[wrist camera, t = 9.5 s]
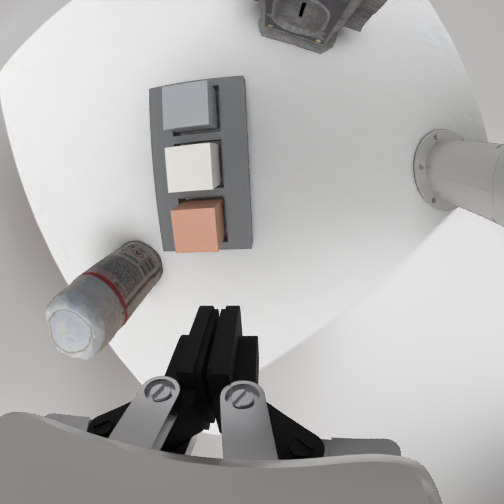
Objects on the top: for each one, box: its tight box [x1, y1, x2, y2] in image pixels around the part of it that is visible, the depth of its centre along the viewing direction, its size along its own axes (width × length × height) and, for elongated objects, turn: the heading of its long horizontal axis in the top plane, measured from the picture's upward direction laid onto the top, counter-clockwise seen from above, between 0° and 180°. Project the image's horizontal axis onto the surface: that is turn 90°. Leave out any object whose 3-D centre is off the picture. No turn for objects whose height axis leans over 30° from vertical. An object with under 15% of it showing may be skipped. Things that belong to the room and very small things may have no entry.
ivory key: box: [165, 143, 221, 193], centre depth 30 cm, size 5×5×6 cm
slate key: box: [162, 80, 218, 133], centre depth 28 cm, size 5×5×6 cm
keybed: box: [149, 76, 253, 251], centre depth 34 cm, size 12×22×3 cm, turn 3°
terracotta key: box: [171, 198, 225, 253], centre depth 33 cm, size 5×5×6 cm
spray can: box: [45, 241, 162, 360], centre depth 31 cm, size 8×8×20 cm
